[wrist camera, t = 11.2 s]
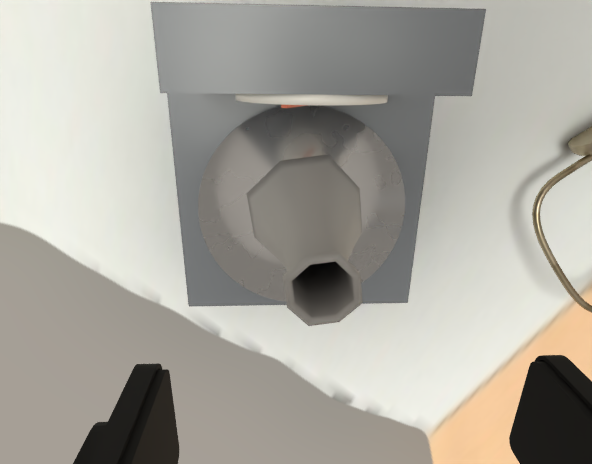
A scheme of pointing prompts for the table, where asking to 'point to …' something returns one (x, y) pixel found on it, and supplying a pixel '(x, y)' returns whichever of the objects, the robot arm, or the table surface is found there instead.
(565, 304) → the table surface
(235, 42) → the scale
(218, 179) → the pan
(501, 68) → the table surface
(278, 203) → the flask
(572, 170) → the light fixture
